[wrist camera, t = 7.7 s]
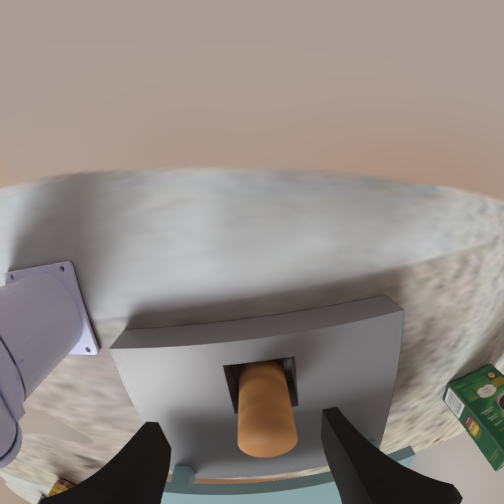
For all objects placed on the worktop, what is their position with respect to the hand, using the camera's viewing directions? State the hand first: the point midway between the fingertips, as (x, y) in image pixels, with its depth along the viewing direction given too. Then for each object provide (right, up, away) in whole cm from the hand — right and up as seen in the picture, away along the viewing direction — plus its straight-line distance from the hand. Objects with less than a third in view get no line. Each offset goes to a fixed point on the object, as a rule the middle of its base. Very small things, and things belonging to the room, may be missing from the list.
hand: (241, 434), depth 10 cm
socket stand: (+2, -4, +11) cm, 12 cm away
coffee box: (+25, -7, +12) cm, 29 cm away
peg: (+1, -1, +10) cm, 10 cm away
